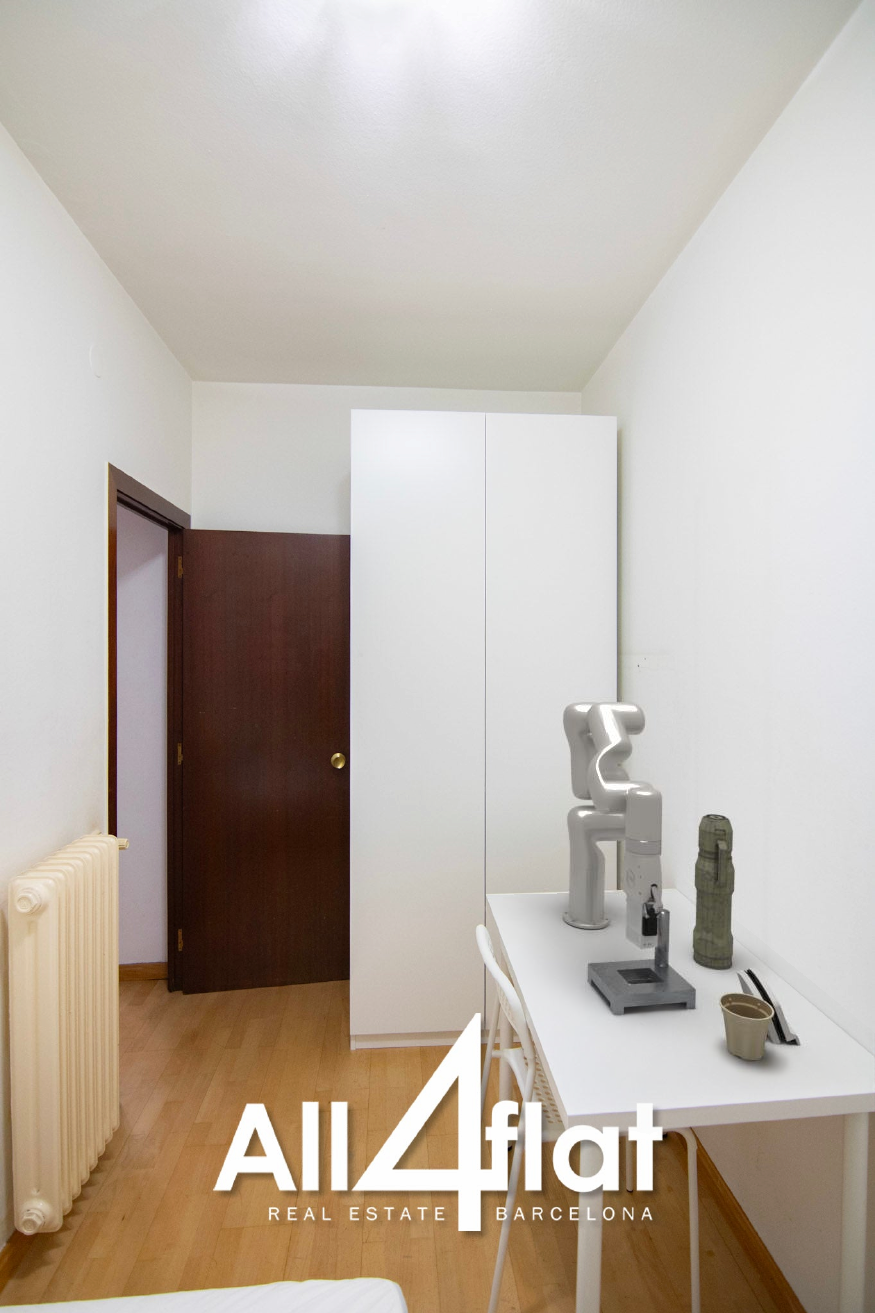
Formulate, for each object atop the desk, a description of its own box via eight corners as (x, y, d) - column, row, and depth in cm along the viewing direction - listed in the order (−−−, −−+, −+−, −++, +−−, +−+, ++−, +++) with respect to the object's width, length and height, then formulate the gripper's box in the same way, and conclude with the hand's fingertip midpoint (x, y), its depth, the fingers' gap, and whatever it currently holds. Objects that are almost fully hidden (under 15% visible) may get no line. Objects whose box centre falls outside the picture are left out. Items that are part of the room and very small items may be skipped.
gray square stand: (587, 981, 150) (589, 910, 150) (661, 975, 153) (663, 906, 153) (614, 1015, 136) (616, 937, 136) (695, 1008, 140) (697, 932, 139)
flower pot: (747, 1072, 119) (748, 1023, 119) (706, 1042, 127) (707, 997, 127) (784, 1060, 123) (785, 1013, 122) (742, 1032, 131) (743, 988, 131)
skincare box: (658, 947, 142) (659, 891, 142) (640, 949, 141) (641, 892, 141) (641, 936, 148) (642, 881, 148) (624, 938, 147) (625, 883, 147)
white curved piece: (801, 1046, 127) (784, 995, 127) (776, 1052, 127) (759, 1002, 128) (769, 1000, 143) (754, 955, 144) (747, 1006, 144) (732, 961, 144)
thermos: (705, 973, 155) (709, 823, 154) (684, 950, 167) (687, 810, 166) (742, 973, 155) (746, 823, 155) (718, 950, 167) (722, 810, 167)
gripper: (609, 835, 152) (608, 914, 152) (646, 858, 135) (644, 947, 135) (640, 834, 154) (638, 913, 153) (680, 857, 136) (678, 945, 136)
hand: (641, 928), depth 144 cm, fingers closed on skincare box, 6 cm apart
